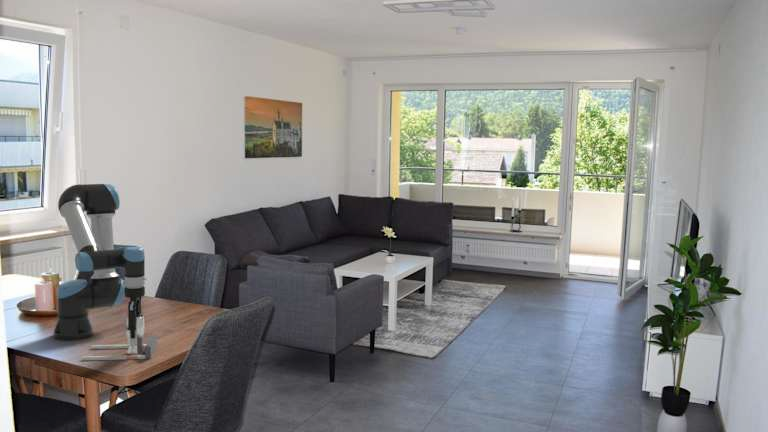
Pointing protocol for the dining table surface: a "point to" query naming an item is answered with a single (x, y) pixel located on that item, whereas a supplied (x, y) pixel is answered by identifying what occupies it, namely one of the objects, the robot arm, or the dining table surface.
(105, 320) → the dining table surface
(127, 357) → the guide track
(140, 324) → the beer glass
